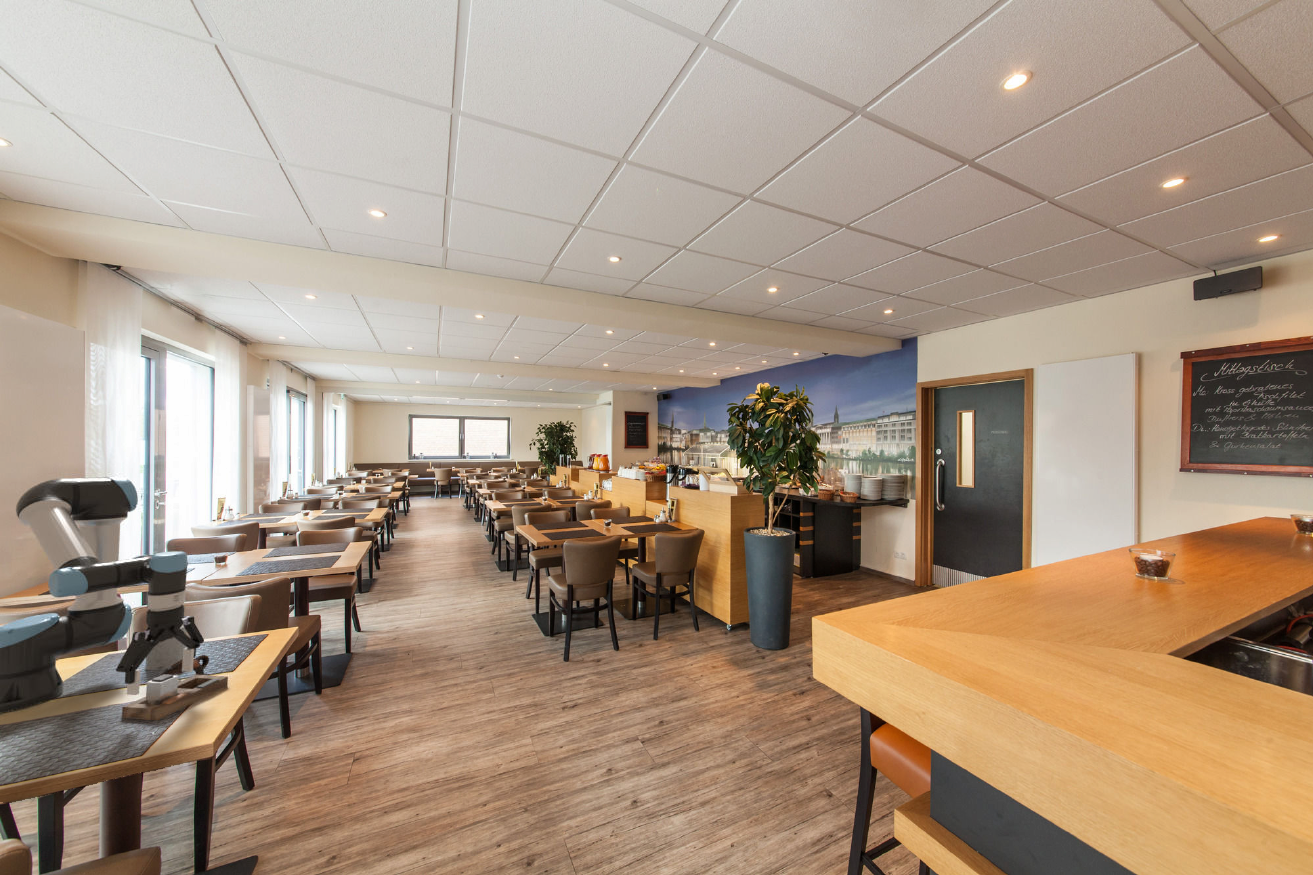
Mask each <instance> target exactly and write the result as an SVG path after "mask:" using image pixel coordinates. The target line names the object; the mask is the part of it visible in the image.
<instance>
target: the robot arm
mask: <svg viewBox="0 0 1313 875" xmlns="http://www.w3.org/2000/svg"><path fill="white" fill-rule="evenodd" d="M138 500H139V497H138V493H137V489H136V487H135V485H134V484H133V482H132V481H131V480H130V479H128V478H126V477H115V476H114V477H110V476H108V477H107V476H105V477H82V478H81V477H80V478H76V477H75V478H55V479H49V480H46V481H42V482H40V483H38V484H36V485H34V486H32V487H30V488H29V489H28V490H26V491H25V492H24V493H23V494H22V495H21V496H20V498H19V499H18V501H17V503H16V507H15V512H16V516H17V518H18V519H19V521H20V523H21V525H22V524H23V525H24V526H27V527H29V528H30V529H31V531H32V533H33V534H34V536H35V537H36V539H37V541H38V543H39V544H40V546H41V548H42V550H43V552H44V553H45V555H46V556H47V558H48V560H49V562H50V563H51V565H52V566H53V569H54V570H53V571H52V572H51V573H50V575H49V577H48V580H47V582H48V584H47V585H48V592H49V594H50V595H51V596H53V597H54V598H67V597H74V596H75V601H74V603H72V604H71V605H70V606H68V607H67V610H66V611H67V612H66V615H62V616H60V615H59V614H58V613H55V612H54V613H53V612H52V613H43V614H40V615H39V614H38V615H37V614H36V615H31V616H27V617H24V618H20V619H17V620H14V621H11V622H8V623H5V624H4V625H1V626H0V714H2V713H3V714H4V713H8V712H14V711H18V710H22V709H26V708H29V707H33V706H35V705H38V704H41V703H44V702H47V701H50V700H51V699H54V698H56V697H58V696H59V695H61V694H62V693H63V692H64V686H65V685H64V680H63V679H62V677H61V675H60V673H59V671H58V669H57V667H56V664H57V663H56V662H57V657H60V656H65V655H67V654H72V653H77V652H79V651H80V652H81V651H84V650H88V649H92V648H95V647H103V646H105V645H108V644H110V643H115V642H117V641H119V640H122V639H123V638H124V637H125V636H126V635H127V633H128V632H129V630H130V627H131V625H132V622H133V612H132V610H133V609H132V607H131V605H130V604H128V603H124V599H123V598H122V597H119V596H118V589H119V588H124V587H130V586H135V585H140V584H148V586H147V587H148V588H147V589H148V591H147V603H146V609H148V610H147V611H146V618H145V621H146V622H145V623H146V625H147V628H146V630H143V631H134V632H133V633H132V636H131V637H132V638H131V642H130V643H129V645H128V647H127V648H126V650H125V651H124V654H123V656H122V658H121V659H120V661H119V663H118V665H117V667H116V668H115V671H116V672H117V673H125V675H124V683H125V684H126V685H127V687H126V695H128V696H129V695H130V696H137V695H139V694H140V684H141V683H140V682H141V669H139V667H140V666H141V665H142V664H143V663H144V661H145V660H146V657H147V655H148V654H149V653H150V652H151V650H152V649H153V648H154V646H156V645H158V643H159V642H163V641H165V640H167V639H171V638H173V637H174V638H176V639H177V640H178V641H180V642H181V643H182V644H183V645H185V649H183V663H182V670H181V671H182V672H187V673H188V672H189V673H190V672H193V671H194V670H193V660H194V659H196V656H197V649H198V648H200V647H201V644H203V643H204V642H205V639H204V637H203V636H202V633H201V632H200V630H199V628H198V626H197V625H196V623H195V617H194V616H193V615H192V616H189V615H188V616H187V615H185V607H186V606H185V605H184V604H185V603H186V590H187V589H186V587H187V574H188V572H187V571H188V566H189V562H188V554H187V552H185V551H182V550H181V551H175V550H174V551H163V552H158V553H155V554H141V555H137V556H135V557H133V558H130V559H129V558H128V559H123V560H122V559H121V560H119V559H120V558H119V557H120V555H119V554H120V539H121V538H120V537H121V536H120V535H121V523H122V522H123V521H125V520H126V519H128V515H129V513H131V512H133V511H135V509H136V508H137V506H138V502H139V501H138ZM78 526H79V527H78ZM182 625H183V626H184V628H185V629H186V634H184V633H185V632H183V631H182V630H181V629H180V628H181V626H182ZM147 636H148V637H147ZM151 640H152V641H153V642H151Z"/></svg>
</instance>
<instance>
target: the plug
mask: <svg viewBox="0 0 1313 875" xmlns="http://www.w3.org/2000/svg"><path fill="white" fill-rule="evenodd" d="M174 675H175V674H174ZM174 675H165V674H164V675H159V676H157V677H154V678H152V679H151V680H148V681H146V688H145V689H146V690H145V697H146V704H147V705H160V704H162V702H164V701H166V700H168V699H170V698H173V697H175V696H177V689H178V682H179V675H175V676H174Z"/></svg>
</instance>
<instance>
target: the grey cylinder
mask: <svg viewBox="0 0 1313 875" xmlns="http://www.w3.org/2000/svg"><path fill="white" fill-rule="evenodd" d="M180 629H181V630H182V631H183V632H185V633H184V634H186V635H187V631H186V629H185V628H184V626H183V625H182V626H181V628H180ZM147 637H148V636H147ZM151 642H153V641H152V640H151ZM185 648H186V646H185V645H183V644H182V643H181V642H180V641H178V640H177V639H176V638H174V637H173V638H171V639H167V640H165V641H163V642H159V643H158V645H156V646H154V648H153V649H152V650H151V652H150V653H149V654H148V655H147V657H146V658H145V666H144V667H145V668H144V669H145V670H147V671H158V670H159V671H160V670H166V669H170V668H171V666H172V665H174V664H175V663H177V662H178V661H180V660H182V659H183V649H185Z"/></svg>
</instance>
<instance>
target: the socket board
mask: <svg viewBox="0 0 1313 875" xmlns="http://www.w3.org/2000/svg"><path fill="white" fill-rule="evenodd" d="M228 680H229V677H228V676H227V675H226V676H225V675H223V676H222V675H209V674H208V675H207V674H204V675H195V674H193V675H192V676H190V677H187V678H185V679H183V680H180V681H178V689H177V696H175V697H173V698H170V699H168V700H166V701H164V702H162V704H160V705H147V704H146V696H144V697H142V698H140V699H137V700H135V701H133V702H129V703H128V704H126V705H124V706H122V707H121V712H122V713H121V719H130V720H131V719H132V720H133V719H135V720H149V721H159V720H161V719H163V718H166V717H168V716H170V715H171V714H173V713H176V712H178V711H180V710H182V709H184V708H186V707H188V706H191V705H192V704H195V703H197V702H198V701H200V700H203V699H205V698H206V697H210V695H212V694H215V693H217V692H219V691H221V690H223V689H225V688H226V687H227V688H228V686H229V685H228V683H229V681H228Z"/></svg>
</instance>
